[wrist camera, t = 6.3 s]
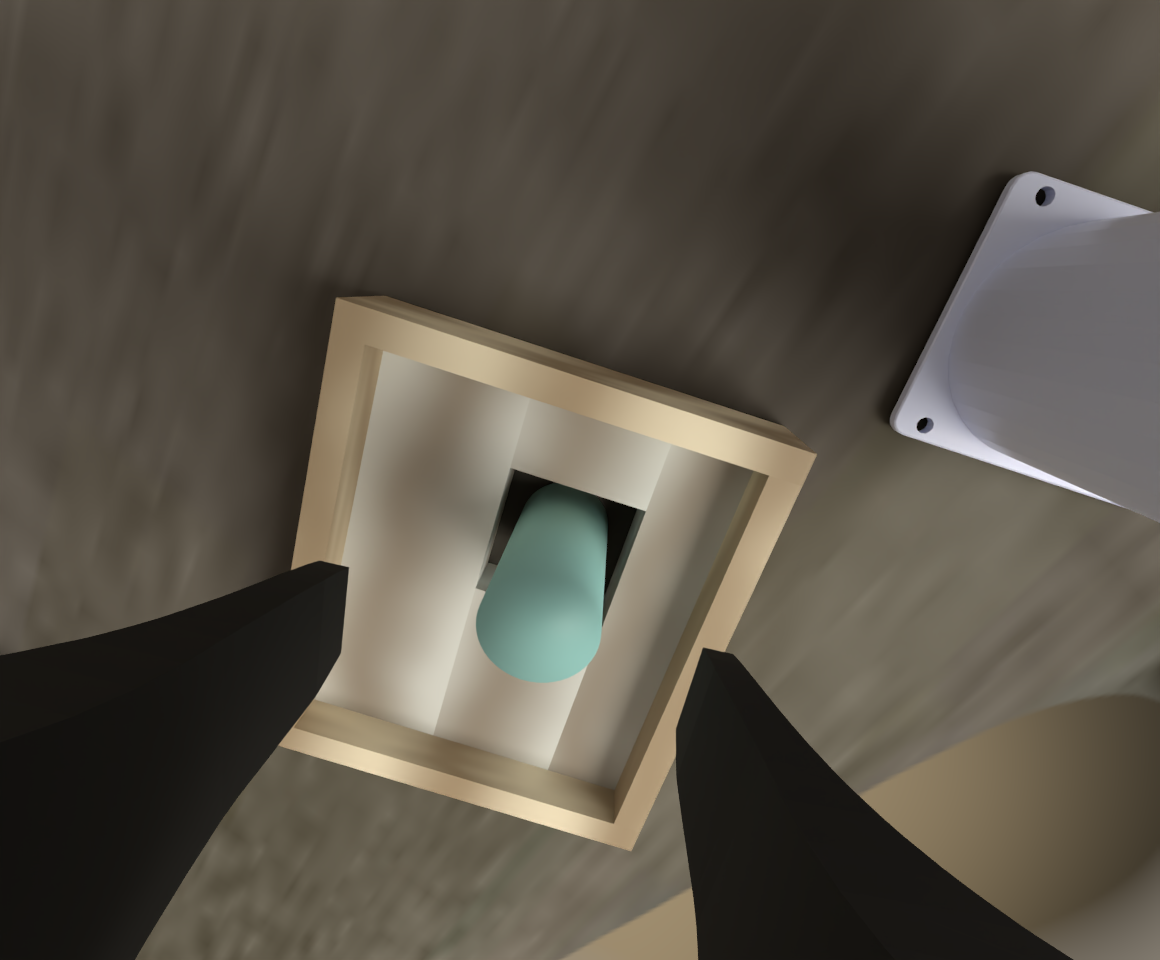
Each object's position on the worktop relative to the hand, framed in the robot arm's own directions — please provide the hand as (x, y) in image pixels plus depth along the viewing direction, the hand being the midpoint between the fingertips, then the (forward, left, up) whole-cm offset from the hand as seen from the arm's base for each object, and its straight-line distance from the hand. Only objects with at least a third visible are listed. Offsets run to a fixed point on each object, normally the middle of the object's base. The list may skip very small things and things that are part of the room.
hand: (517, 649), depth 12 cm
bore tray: (+1, +4, -10) cm, 11 cm away
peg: (0, +1, -10) cm, 10 cm away
